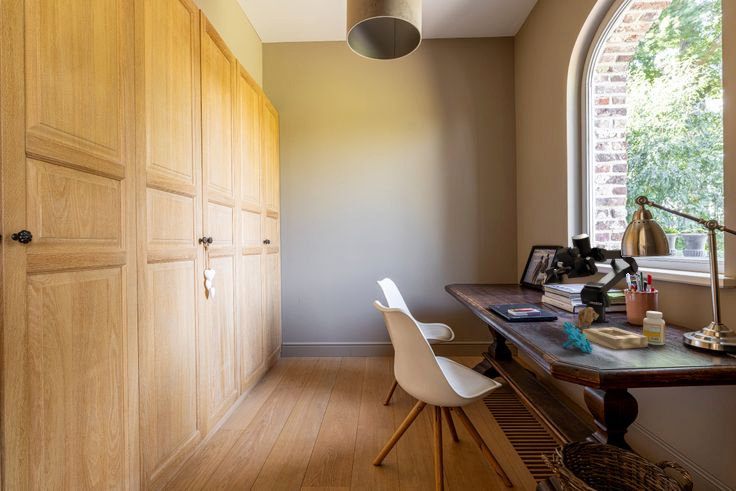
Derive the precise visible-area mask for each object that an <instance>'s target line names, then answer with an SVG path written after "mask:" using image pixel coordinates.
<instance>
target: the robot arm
mask: <svg viewBox="0 0 736 491" xmlns="http://www.w3.org/2000/svg"><path fill="white" fill-rule="evenodd" d="M571 242H572V247H571V246H569V247H568V246H566V247H562V248H560V249H558V251H557V253H556V255H555V257H556V258H557V259H558V260H559V261H560V262H561V264H560V265H561V267H562V268H558V266H557V267H556V266H553V267H548V268H546V269H545V271H544V273H545V275H546V276H547V279H546V280H545V283H546V284H547V285H557V284H561V283H562V282H564V277H563V275H566V277H567V279H569V280H570V279H573V280H574V279H579V278H588V277H591V276H594V275H596V274H598V271H599V268H598V267H597V263H599V264H600V263H602V264H603V263H604V262H607V260H611V261H610V263H609V264H610V267H611V268H612V270H611V271H609V272H608V273H607V274H606V275H604V276H603V277H602V278H601V279H600V280H599V281H597V282H596V281H588V282H587V283H586V284H584V285H583V287H582V288H581V290H580V292H579V296H580V300H581V301H580V302H581V305H585V308H588V307H591V308H593V310H594V311H595V312H596V313H597V314H598V315H599V316H598V317H597V319H596V320H595V319H593V321H592V322H591V323H596V324H597V323H598V324H599V323H609V321H610V320H608V319H606V312H607V311H606V310H607V309H606V308H610V307H611V304H612V300H611V299H610V297H609V295H608V292H609V291H610V290H611V289H612V288H614V287H615V286H617V284H618V283H619V282H620V281H622V280H623V279H624V278H627V277H626V274H627V273H629V274H630V275H632V276H631V277H634V276H635V275H636V274H637V273H638V271H639V265H638V263H637V261H636V259H635V258H634V257H632V256H631V257H622V256H621V249H622V248H613V249H606V248H603V247H598V246H591V241H590V235H589V233H582V234H577V235H573V236H571Z"/></svg>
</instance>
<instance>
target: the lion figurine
mask: <svg viewBox="0 0 736 491" xmlns="http://www.w3.org/2000/svg"><path fill="white" fill-rule="evenodd" d="M598 316H599V315H598V314H597V313H596V312H595V311H594V310H593V308H591V307H588V308H586V307H585V308H583V309H580V310H579V311H578V312H577V324H576V326H575V328H579V330H580V331H581V332H580V333H583V329H584V327H586V329H591V326H592V325H591V324H592V323H593V322H592V321H593V319H595V320H596V319H597V317H598Z"/></svg>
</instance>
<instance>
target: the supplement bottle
mask: <svg viewBox="0 0 736 491" xmlns="http://www.w3.org/2000/svg"><path fill="white" fill-rule="evenodd" d="M645 313H646V317H644V318H643V320H642V321H643V323H642V335H643V336H646V337H648V345H655V346H664V345H665V341H666V322H665V320H664V319H663V312H660V311H653V310H647V311H646V312H645Z"/></svg>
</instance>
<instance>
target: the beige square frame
mask: <svg viewBox="0 0 736 491" xmlns="http://www.w3.org/2000/svg"><path fill="white" fill-rule="evenodd" d="M583 333H585V334H586V335H587V336H586V337H587V338H586V339H587V340H588V341H589V342H592V343H596V344H598V345H601V346H604V347H607V348H611V349H614V350H621V349H623V350H624V349H636V348H637V349H638V348H647V347H648V346H649V343H648V337H646V336H643V334H637V333H635V332H631V331H627V330H625V329H621V328H617V327H615V326H612V327H609V326H608V327H595V328H590V329H587V328H583V332H582V334H583Z"/></svg>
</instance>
